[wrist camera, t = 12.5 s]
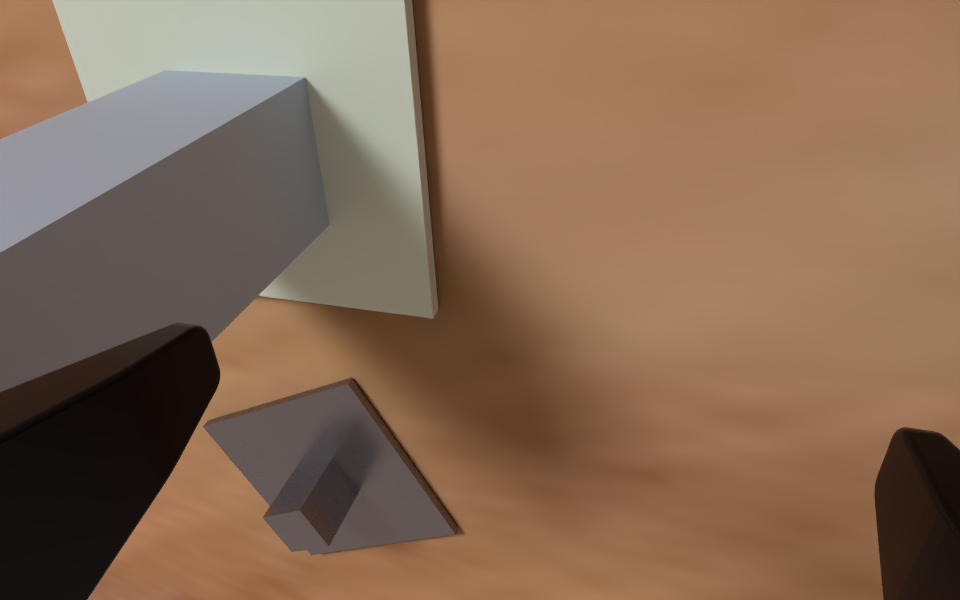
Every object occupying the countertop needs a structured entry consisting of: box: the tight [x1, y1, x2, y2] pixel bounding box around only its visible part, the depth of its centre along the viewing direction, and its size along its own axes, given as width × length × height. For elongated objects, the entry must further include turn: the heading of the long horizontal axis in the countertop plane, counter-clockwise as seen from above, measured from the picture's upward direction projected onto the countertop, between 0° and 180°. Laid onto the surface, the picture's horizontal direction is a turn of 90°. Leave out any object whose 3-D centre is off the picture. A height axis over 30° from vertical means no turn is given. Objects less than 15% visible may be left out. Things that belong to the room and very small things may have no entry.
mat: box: [53, 0, 439, 319], centre depth 23 cm, size 12×12×1 cm
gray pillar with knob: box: [0, 70, 330, 392], centre depth 18 cm, size 5×5×14 cm
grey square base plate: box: [203, 378, 458, 555], centre depth 31 cm, size 9×9×3 cm
